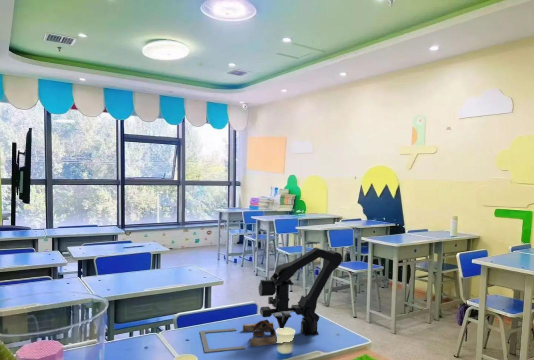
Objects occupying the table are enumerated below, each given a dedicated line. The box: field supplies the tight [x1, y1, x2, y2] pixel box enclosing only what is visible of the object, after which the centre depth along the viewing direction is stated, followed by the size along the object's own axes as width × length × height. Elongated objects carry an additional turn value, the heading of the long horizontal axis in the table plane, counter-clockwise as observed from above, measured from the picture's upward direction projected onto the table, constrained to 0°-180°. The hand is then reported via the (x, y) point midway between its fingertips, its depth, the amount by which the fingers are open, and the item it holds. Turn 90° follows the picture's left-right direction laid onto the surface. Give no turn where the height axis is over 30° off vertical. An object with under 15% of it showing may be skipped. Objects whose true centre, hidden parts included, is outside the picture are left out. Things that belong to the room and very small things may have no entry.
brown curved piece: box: [251, 319, 277, 338], centre depth 162 cm, size 12×10×8 cm
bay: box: [199, 328, 246, 354], centre depth 158 cm, size 16×21×1 cm
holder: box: [242, 322, 277, 347], centre depth 163 cm, size 14×17×2 cm
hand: (281, 330), depth 165 cm, fingers closed
